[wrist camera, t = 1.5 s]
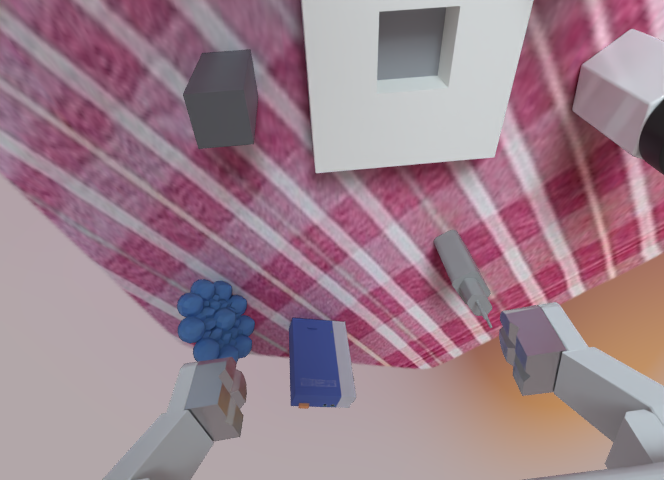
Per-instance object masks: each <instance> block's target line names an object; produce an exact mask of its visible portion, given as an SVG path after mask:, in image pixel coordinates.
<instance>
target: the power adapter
mask: <svg viewBox="0 0 664 480" xmlns="http://www.w3.org/2000/svg"><path fill="white" fill-rule="evenodd" d="M434 244H435V246H436V249H437V251H438V253H439V256H440V258H441V260H442V262H443V265H444V267H445V269H446V271H447V274H448V276H449V278H450V281H451V283H452V285H453V287H454V288H455V290H456V291H457V293H458V294H459V295H460V297H461V298H462V300H463V301H464V302H465V304H467V305H468V306H469V307H470V309H471V310H472V312H473V313H474V314H475V315H477V316H483V318H484V319H485V320H486V321H487V323H488V325H489V327H490V328H492V325H491V323H490V321H489V318H488V316H487V315H488V313H489V312H490V311H491V310H492V306H491V304H490V302H489V300H488V298H487V297H488V296H489V295H490V290H489V288H488V287H487V285H486V283H485V281H484V279H483V277H482V275H481V273H480V271H479V269H478V268H477V266H476V264H475V262H474V260H473V258H472V256H471V254H470V252H469V250H468V249H467V247H466V245H465V244H464V242H463V240H462V239H461V237H460V236H459V234H458V232H457V231H456V230H450V231H448V232H446V233H444V234H442V235H440V236H438V237H437V238H435V240H434Z"/></svg>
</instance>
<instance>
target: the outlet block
mask: <svg viewBox="0 0 664 480" xmlns="http://www.w3.org/2000/svg"><path fill="white" fill-rule="evenodd" d="M533 1H534V0H301V12H302V24H303V36H304V49H305V61H306V73H307V85H308V98H309V110H310V122H311V134H312V147H313V156H314V164H315V171H316V173H325V172H336V171H347V170H358V169H369V168H380V167H391V166H403V165H414V164H425V163H436V162H447V161H458V160H469V159H480V158H491V157H495V153H496V149H497V145H498V141H499V137H500V133H501V129H502V125H503V121H504V117H505V113H506V109H507V105H508V101H509V97H510V93H511V89H512V85H513V81H514V77H515V73H516V69H517V65H518V61H519V57H520V53H521V49H522V45H523V41H524V37H525V33H526V29H527V25H528V21H529V17H530V13H531V9H532V5H533Z"/></svg>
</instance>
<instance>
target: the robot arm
mask: <svg viewBox="0 0 664 480" xmlns="http://www.w3.org/2000/svg"><path fill="white" fill-rule="evenodd" d="M500 321H501V323H502V325H503V327H502V328H501V329H500V330H499V339H500V344H501V349H502V351H503V354H504V357H505V359H506V361H507V362H508V363H509V364H511V365H513V376H514V379H515V381H516V383H517V385H518V387H519V390H520V392H521V394H522V396H524V395H532V394H541V393H549V392H554V394H555V395H556V396H558V397H559V398H560V399H561V400H562V401H563V402H565V403H566V404H567V405H568V406H570V407H571V408H572V409H573V410H575V411H576V412H577V413H578V414H579V415H581V416H582V417H583V418H584V419H586V420H587V421H588V422H589V423H590V424H592V425H593V426H594V427H595V428H597V429H598V430H599V431H600V432H602V433H603V434H604V435H605V436H607V437H608V438H609V439H610V440H611V441H613V442H614V443H613V445H612V448H611V450H610V453H609V455H608V457H607V460H606V462H605V465H606V467H607V469H604V470H596V471H588V472H581V473H572V474H564V475H556V476H548V477H540V478H532V479H524V480H664V386H662V385H661V384H659V383H657V382H655V381H653V380H652V379H650V378H648V377H647V376H645V375H643V374H641V373H639V372H638V371H636V370H634V369H632V368H631V367H629V366H627V365H625V364H624V363H622V362H620V361H618V360H616V359H615V358H613V357H611V356H609V355H607V354H606V353H604V352H602V351H601V350H599V349H597V348H595V347H591V348H589V347H588V346H587V345H586V343H585V341H584V340H583V339H582V337H581V336H580V334H579V333H578V331H577V330H576V328H575V327H574V325H573V324H572V322H571V321H570V319H569V318H568V316H567V315H566V313H565V312H564V310H563V309H562V308H561V306H560V305H559V304H558V303H556V302H554V303H548V304H542V305H537V306H536V305H534V306H528V307H523V308H517V309H512V310H506V311H502V312H501V314H500ZM236 364H237V363H236V362H235V360H234V359H233V357H227V358H220V359H213V360H206V361H199V362H193V363H186V364H184V365H183V366H182V367H181V369H180V372H179V375H178V378H177V381H176V384H175V387H174V390H173V394H172V397H171V400H170V403H169V407H168V409H167V413H163V414H161V415H160V416H159V418H158V419H157V420H156V421H155V422H154V423H153V424H152V426H150V428H149V429H148V430H147V431H146V432H145V433H144V434H143V435H142V436H141V437H140V438H139V440H138V441H137V442H136V443H135V444H134V445H133V446H132V447H131V448H130V450H129V451H128V452H127V453H126V454H125V455H124V456H123V457H122V458H121V459H120V461H119V462H118V463H117V464H116V465H115V466H114V467H113V468H112V470H111V471H110V472H109V473H108V474H107V475H106V476H105V477H104V478H103V479H102V480H191V478H192V476H193V475H194V473H195V472H196V470H197V469H198V467H199V465H200V464H201V462H202V461H203V459H204V458H205V456H206V455H207V453H208V452H209V450H210V448H211V447H212V445H213V443H214V442H213V441H219V440H225V439H230V438H236V437H240V435H241V429H242V422H243V414H242V413H241V411H240V408H241V407H242V406H243V405H244V403H245V402H246V395H247V390H246V381H245V378H244V376H243V374H242V372H241V371H238V370H236Z"/></svg>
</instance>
